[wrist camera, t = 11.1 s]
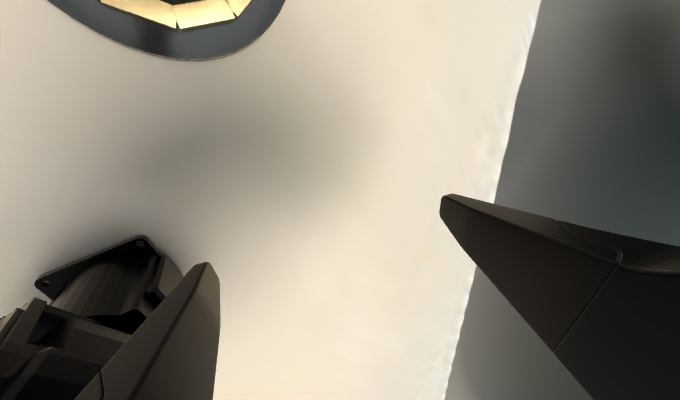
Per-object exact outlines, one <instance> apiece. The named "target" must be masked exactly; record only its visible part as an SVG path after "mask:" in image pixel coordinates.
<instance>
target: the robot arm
mask: <svg viewBox="0 0 680 400" xmlns="http://www.w3.org/2000/svg"><path fill="white" fill-rule="evenodd" d="M439 213H440V217H441V219H442V220H443V222H444V223H445V225H446V226H447V227H448V229H449V230H450V232H451V233H452V235H453V236H454V237H455V239H456V240H457V242H458V243H459V244H460V246H461V247H462V248H463V250H464V251H465V252H466V253H467V254H468V255H469V257H470V258H471V259H472V260H473V261H474V262H475V263H476V265H477V266H478V267H479V268H480V269H481V270H482V272H483V273H484V274H485V275H486V276H487V277H488V278H489V280H490V281H491V282H492V283H493V284H494V285H495V287H496V288H497V289H498V290H499V291H500V292H501V294H502V295H503V296H504V297H505V298H506V299H507V300H508V301H509V303H510V304H511V305H512V306H513V307H514V309H515V310H516V311H517V312H518V313H519V314H520V315H521V316H522V318H523V319H524V320H525V321H526V322H527V323H528V325H529V326H530V327H531V328H532V329H533V330H534V332H535V333H536V334H537V335H538V336H539V337H540V339H541V340H542V341H543V342H544V343H545V344H546V346H547V347H548V348H549V349H550V350H551V351H552V352H553V353H554V355H555V356H556V357H557V358H558V360H559V361H560V362H561V363H562V364H563V365H564V366H565V368H566V369H567V370H568V371H569V372H570V373H571V375H572V376H573V377H574V378H575V379H576V380H577V381H578V383H579V384H580V385H581V386H582V387H583V389H584V390H585V391H586V392H587V393H588V394H589V395H590V397H592V399H593V400H680V246H674V245H669V244H663V243H659V242H654V241H649V240H644V239H639V238H635V237H630V236H625V235H620V234H616V233H611V232H606V231H602V230H596V229H593V228H588V227H584V226H579V225H576V224H571V223H567V222H564V221H560V220H557V221H556V220H555V219H552V218H547V217H543V216H540V215H535V214H532V213H528V212H523V211H520V210H516V209H512V208H508V207H504V206H500V205H496V204H492V203H488V202H484V201H480V200H476V199H472V198H468V197H464V196H460V195H456V194H448V195H444V196H443V197H442V198H441V204H440V212H439ZM138 241H142V242H144V244H142V245H140V244H137V242H138ZM45 280H48V281H50V282H51V283H46V282H44V281H45ZM35 286H36V288H37V289H39V290H40V291H41V292H43V293H44V294H45V295H46V296H48V297H49V298H50V299H52V301H51V303H50V304H49V305H47V304H46V303H47V302H46V301H43V300H40V299H37V298H32V299H31V300H30V301H29V302H28V303H26V304H25V305H24V306H23V307H22V308H21V309H20V308H16V309H15V310H14V311H12V312H11V313H10V314H9V315H7V316H3V317H2V318H0V400H213V391H214V382H215V373H216V363H217V354H218V344H219V335H220V282H219V278H218V276H217V274H216V273H215V271H214V269H213V267H212V266H211V264H210V263H209V262H204V263H200V264H197V265H195V266H194V267H193V268H192V269H191V270H190V271H189V272H188V273H187V274H186V275H185V276H183V275H182V274H181V273H180V271H179V270H178V269H177V268H176V266H175V265H174V264H173V263H172V261H171V260H170V259H169V258H168V256H166V255H162V254H161V253H160V252H159V251H158V249H157V248H156V247H155V246H154V245H153V243H152V242H151V241H150V240H149V238H147V237H146V236H136V237H134V238H131V239H129V240H126V241H124V242H122V243H119V244H117V245H114V246H112V247H109V248H107V249H104V250H102V251H100V252H97V253H95V254H92V255H90V256H87V257H85V258H82V259H80V260H78V261H75V262H73V263H70V264H68V265H65V266H63V267H60V268H58V269H55V270H53V271H51V272H48V273H46V274H43V275H41V276H40V277H39V278H38V279H37V280H36V281H35Z"/></svg>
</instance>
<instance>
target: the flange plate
mask: <svg viewBox="0 0 680 400" xmlns="http://www.w3.org/2000/svg"><path fill="white" fill-rule="evenodd" d="M48 1H49V2H51V3H52V4H54V5H55V6H57V7H58V8H60V9H61V10H62V11H64V12H65V13H67V14H68V15H70V16H71V17H73V18H74V19H76V20H78V21H79V22H81V23H83V24H85V25H86V26H88V27H90V28H92V29H93V30H95V31H97V32H98V33H100V34H102V35H104V36H106V37H108V38H110V39H112V40H115V41H117V42H119V43H121V44H123V45H125V46H128V47H131V48H134V49H136V50H139V51H142V52H145V53H148V54H152V55H156V56H160V57H165V58H170V59H179V60H208V59H214V58H220V57H223V56H226V55H230V54H233V53H235V52H237V51H239V50H241V49H243V48H245V47H247V46H248V45H250V44H251V43H252V42H254V41H255V40H256V39H258V38H259V37H260V36H261V35H262V34H263V33H264V32H265V31H266V30H267V29H268V27H269V26H270V25H271V24H272V22H273V21H274V19H275V18H276V17H277V15H278V14H279V12H280V10H281V8H282V6H283V4H284V2H285V0H48Z"/></svg>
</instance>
